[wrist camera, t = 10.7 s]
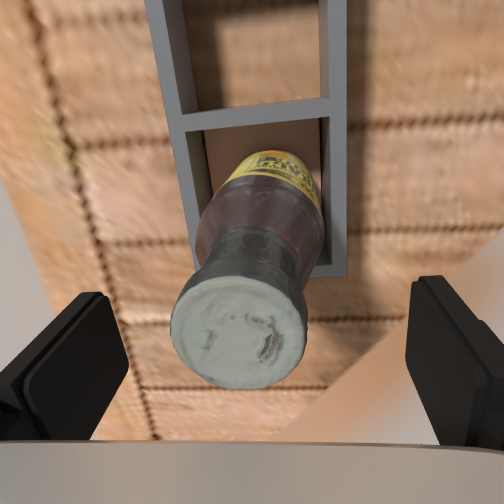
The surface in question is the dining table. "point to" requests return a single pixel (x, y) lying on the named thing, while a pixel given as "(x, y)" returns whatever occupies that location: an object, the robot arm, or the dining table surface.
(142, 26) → the dining table surface
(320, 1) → the dock
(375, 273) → the dining table surface
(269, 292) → the sauce bottle
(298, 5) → the dining table surface
